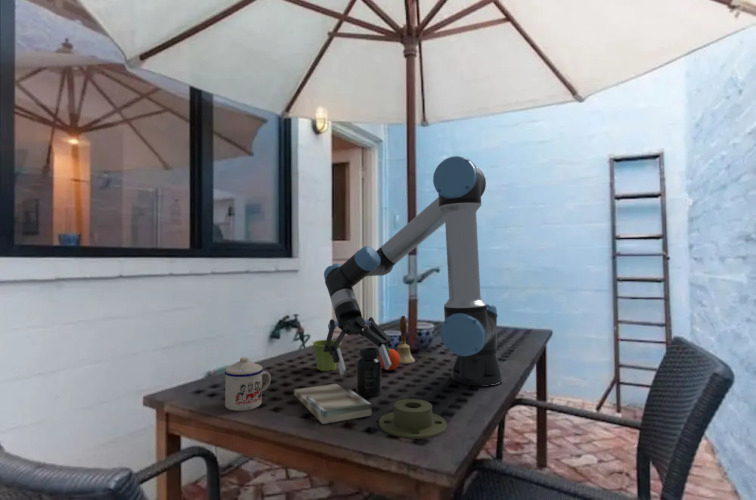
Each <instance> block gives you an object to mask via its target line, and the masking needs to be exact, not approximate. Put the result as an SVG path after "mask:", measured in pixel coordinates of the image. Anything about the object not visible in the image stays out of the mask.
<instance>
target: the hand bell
mask: <svg viewBox="0 0 756 500" xmlns="http://www.w3.org/2000/svg"><path fill="white" fill-rule="evenodd" d="M407 329H408V323H407V318H406V316H405V315H400V321H399V331H400V344H398V345H397V346H396V351H397V353H398V354H399V356H400V363H399V365H400V364H401V365H402V364H406V365H407V364H413V363H415V362H416V360H415V358H414V357H413V356H412V353H411V347H410V345H409V344H407V343H406V341H407V339H406V334H407V333H406V332H407Z"/></svg>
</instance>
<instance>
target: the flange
mask: <svg viewBox="0 0 756 500" xmlns="http://www.w3.org/2000/svg"><path fill="white" fill-rule="evenodd" d="M378 426H379V428H380V430H381V431H384V432H385V433H386V434H388V435H391V436H395V437H399V438H404V439H410V440H411V439H413V440H414V439H415V440H417V439H419V440H422V439H429V438H434V437H437V436H441V435H442V434H444V433H445V432H446V431H447V429H448V422H447V420H446V419H444V418H443V417H442V416H440V415H438V414H436V413H433V404H432V403H430V402H429V401H427V400H424V399H418V398H403V399H399V400H397V401H395V402H394V404H393V411H390V412H388V413H384V414H383V415H382V416H381V417H380V418H379V420H378Z"/></svg>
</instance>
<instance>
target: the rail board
mask: <svg viewBox="0 0 756 500" xmlns="http://www.w3.org/2000/svg"><path fill="white" fill-rule="evenodd" d="M293 394H294V396H295V397H296V398H297V400H298V401H300V403H302V404H303V406H304V407H306V409H307V410H309V412H310V413H311V414H312V415H313V416H314V417H315V418H316V419H317V420H318V421H319V422H320V423H321V424H323V425H324V424H330V423H335V422H341V421H347V420H355V419H359V418H364V417H369V416H370V417H371V416H372V403H371V402H369V401H368V400H367V399H365V398H364V397H363V396H360V395H358V394H357V392H355V391H353V389H350V388H349V389H347V390H346V389H344V388H343V387H342V386H340V384H337V383H331V384H324V385H317V386H316V385H315V386H309V387H303V388H302V387H301V388H296V389H295V388H294V393H293Z"/></svg>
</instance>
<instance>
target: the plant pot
mask: <svg viewBox="0 0 756 500" xmlns="http://www.w3.org/2000/svg"><path fill="white" fill-rule="evenodd" d="M335 341H336V340H334V339H332V340H331V344H330V345H332V346H333V345H334V343H335ZM325 343H326V339H321V340H315V341H312V345H313V346H314V350H315V359H316V369H317V370H319V371H320V372H330V371H335V370H336V369H337V366H338V364H337V363H334V361H333V357H332V355H330V352H324V346H325ZM341 345H342V341H341V342H340V344H339V346H338V347H337V349H338V348H340V349H341Z"/></svg>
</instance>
